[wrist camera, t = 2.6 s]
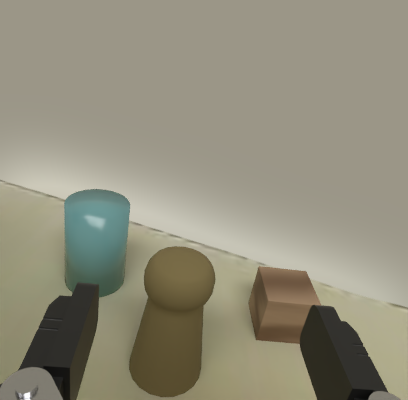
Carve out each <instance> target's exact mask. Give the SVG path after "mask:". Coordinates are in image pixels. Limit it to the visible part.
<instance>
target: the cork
mask: <svg viewBox="0 0 408 400" xmlns="http://www.w3.org/2000/svg"><path fill="white" fill-rule="evenodd" d="M214 284H215V273H214V269H213V266H212V264H211V262H210V261H209V260H208V258H207V257H206V256H205V255H203V254H202V253H200V252H198V251H196V250H194V249H191V248H186V247H168V248H165V249H162V250H160V251H158V252H157V253H156V254H155V255H154V256H153V257H152V258H151V259H150V260H149V262H148V264H147V267H146V269H145V274H144V285H145V290H146V292H147V295H148V300H147V303H146V307H145V310H144V313H143V317H142V320H141V324H140V327H139V330H138V334H137V337H136V340H135V344H134V347H133V350H132V354H131V357H130V367H129V370H130V372H131V375H132V378H133V380H134V381H135V382H136V384H137V385H138V386H139V387H140V388H141V389H143V390H144V391H146V392H148V393H149V394H152V395H156V396H160V397H174V396H177V395H180V394H183V393H185V392H186V391H188V390H189V389H190V388H192V387H193V386H194V384H195V383H196V381H197V380H198V378H199V374H200V370H201V351H202V327H203V305H204V304H205V303H206V302H207V301H208V300H209V298H210V296H211V295H212V292H213V288H214Z"/></svg>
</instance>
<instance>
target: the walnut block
mask: <svg viewBox="0 0 408 400" xmlns="http://www.w3.org/2000/svg"><path fill="white" fill-rule="evenodd" d="M312 305H321V304H320V301H319V299H318V297H317V295H316V292H315V290H314V288H313V286H312V283H311V281H310V279H309V277H308V274H307V272H306V271H298V270H288V269H279V268H270V267H261V266H259V268H258V271H257V275H256V278H255V282H254V285H253V289H252V292H251V296H250V300H249V308H250V313H251V318H252V322H253V327H254V332H255V337H256V340H262V341H274V342H285V343H297V344H300V335H301V332H302V329H303V326H304V324H305V321H306V318H307V315H308V313H309V310H310V308H311V306H312Z"/></svg>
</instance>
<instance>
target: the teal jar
mask: <svg viewBox="0 0 408 400" xmlns="http://www.w3.org/2000/svg"><path fill="white" fill-rule="evenodd" d="M64 209H65V283H66V286H67V287H68V289H69V290H70V291H72V292H74V289H75V287H76V284H77V283H78V282H80V283H91V284H99V297H103V296H107V295H109V294H112V293H114V292H115V291H117V290H118V289H119V288H120V287H121V286H122V284H123V282H124V273H125V261H126V249H127V237H128V225H129V213H130V203H129V201H128V200H127V198H125V197H124V196H122V195H120V194H119V193H116V192H113V191H108V190H100V189H91V190H83V191H79V192H76V193H74V194H72V195H70V196H69V197H68V198H67V199H66V200H65V203H64Z"/></svg>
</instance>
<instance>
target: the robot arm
mask: <svg viewBox="0 0 408 400" xmlns="http://www.w3.org/2000/svg"><path fill="white" fill-rule="evenodd" d="M98 303H99V284H91V283H80V282H78V283H77V284H76V287H75V289H74V292H73V294H72V296H59V297H58V298H57V299H56V300H54V301H53V302H52V303H51V304H50V305H49V306H48V309H47V311H46V313H45V315H44V317H43V320H42V321H41V324H40V326H39V329H38V330H37V332H36V334H35V336H34V338H33V341H32V343H31V345H30V347H29V349H28V351H27V353H26V356H25V358H24V360H23V362H22V364H21V366H20V368H19V370H18V371H17V372H15V373H13V374H12V375H10V376H9V377H8V378H7V379H6V380H5V381H4V382H3V383H2V384H0V400H76V399H77V395H78V392H79V388H80V385H81V381H82V378H83V374H84V371H85V367H86V364H87V360H88V357H89V353H90V350H91V346H92V343H93V339H94V336H95V332H96V327H97V321H98ZM300 348H301V352H302V355H303V358H304V361H305V364H306V367H307V370H308V373H309V376H310V379H311V382H312V385H313V388H314V391H315V394H316V397H317V400H400V399H399V398H398V397H396V396H394V395H393V394H390V393H388V391H387V389H386V387H385V385H384V383H383V381H382V379H381V378H380V376H379V374H378V372H377V370H376V368H375V366H374V364H373V362H372V360H371V359H370V357H368V353H367V351H366V349H365V347H363V343H362V341H361V340H360V338H359V336H358V334H357V332H356V331H355V330H354V329H353V328H352V327H351V326H350V325H349V324H348V323H347V322H344V321H341V320H340V318H339V316H338V314H337V312H336V310H335V309H334V307H332V306H321V305H312V306H311V308H310V310H309V313H308V315H307V318H306V321H305V324H304V326H303V329H302V332H301V335H300Z"/></svg>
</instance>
